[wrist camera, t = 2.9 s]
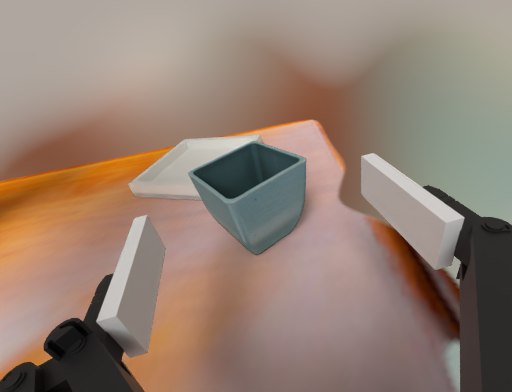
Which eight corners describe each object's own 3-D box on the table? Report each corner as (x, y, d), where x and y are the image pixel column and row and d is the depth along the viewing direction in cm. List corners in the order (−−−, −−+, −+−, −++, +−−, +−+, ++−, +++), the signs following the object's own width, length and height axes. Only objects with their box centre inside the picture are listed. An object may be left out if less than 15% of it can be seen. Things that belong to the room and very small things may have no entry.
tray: (134, 196, 44) (127, 184, 43) (188, 150, 57) (184, 139, 56) (224, 201, 38) (219, 186, 36) (262, 147, 50) (260, 135, 49)
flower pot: (210, 235, 32) (185, 171, 27) (267, 201, 36) (253, 138, 31) (251, 277, 26) (227, 204, 21) (316, 231, 29) (308, 158, 24)
